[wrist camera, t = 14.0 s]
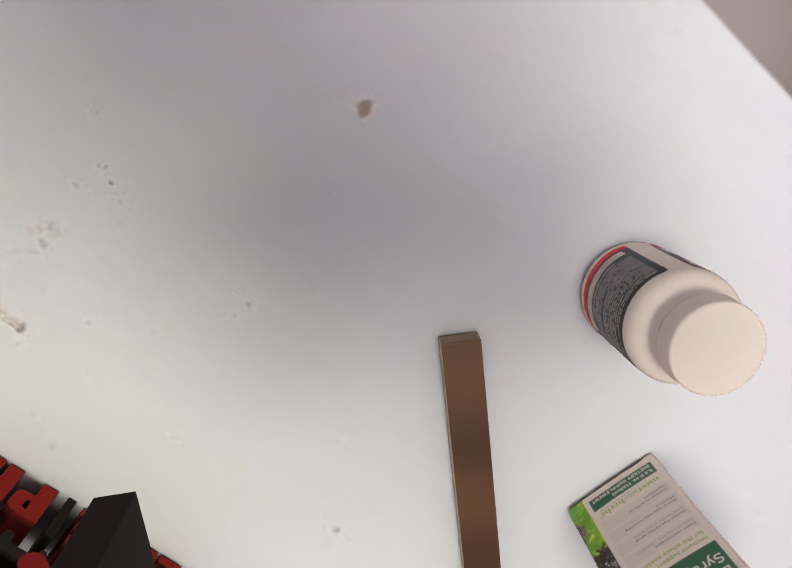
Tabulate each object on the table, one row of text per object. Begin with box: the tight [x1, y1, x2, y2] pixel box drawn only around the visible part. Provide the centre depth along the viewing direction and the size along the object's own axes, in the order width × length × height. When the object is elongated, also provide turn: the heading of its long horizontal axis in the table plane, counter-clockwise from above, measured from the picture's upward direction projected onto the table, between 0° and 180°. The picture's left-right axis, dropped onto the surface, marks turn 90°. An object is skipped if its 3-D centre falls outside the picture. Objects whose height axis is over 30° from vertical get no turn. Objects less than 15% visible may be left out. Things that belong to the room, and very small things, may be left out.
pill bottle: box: [581, 242, 766, 396], centre depth 32 cm, size 5×5×9 cm
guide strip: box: [439, 332, 501, 568], centre depth 39 cm, size 24×2×1 cm, turn 6°
